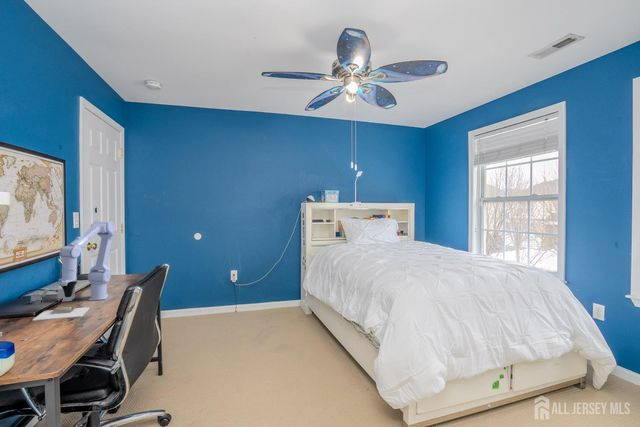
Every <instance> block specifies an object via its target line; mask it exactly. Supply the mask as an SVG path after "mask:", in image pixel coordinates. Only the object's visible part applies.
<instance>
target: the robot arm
mask: <svg viewBox="0 0 640 427" xmlns="http://www.w3.org/2000/svg"><path fill="white" fill-rule="evenodd" d="M115 230H116V225H115V223H114V222H113V221H103V220H102V221H99V220H95V221H93V222H92V223H91V224H90V228H89V229H88V230H87V231H86V232H85V233H84V234H83V235H82V236H81V235H80V236H76V238H75V239H74V240H72V242H70V243H69V244H68V245H65V246H63V247H61V249H60V251H59V252H58V254H59V256H60V260H61V262H62V264H61V278H58V282H61V283H60V287H62V288H63V291H64V294H65V297H71V296H72V293H73V289H74V287H75V288H76V285H77V283H78V282H77V279H78V278H77V271H78V270H77V269H78V268H77V267H78V257H79V256H81V252H82V250H83V249H84V248H85V247H86V246H87V245H88V244H89V240H91V239H93V238H94V236H96V235H97V236H98V237H100V238H101V240H100V243H99V244H100V245H99V249H98V252H97V256H96V257H97V258H96V261H95V265H94V266H92V267H91V268H90V269H89V273H88V274H87V281H88V282H89V284H90V297H89V299H88V301H98V300H99V301H100V300H101V301H102V300H106V299H107V298H108V297H109V294H108V283H109V281H110V280H111V277H112V273H111V271H112V269H111V268H110V267H108V262H109V257H110V253H111V252H110V251H111V247H112V244H113V243H112V242H113V238H114V237H115V236H114V235H115V233H116V231H115Z"/></svg>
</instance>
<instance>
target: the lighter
mask: <svg viewBox="0 0 640 427" xmlns="http://www.w3.org/2000/svg"><path fill="white" fill-rule="evenodd" d="M49 291H50V288H47V287H46V288H45V289H44V290H43V293H42V294H40V293H34V294H32V295H31V296H30V302H31V301H36V300H42V301H43V297H45V296H46V295H47V294H48V292H49Z"/></svg>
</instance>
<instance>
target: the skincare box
mask: <svg viewBox="0 0 640 427" xmlns="http://www.w3.org/2000/svg"><path fill="white" fill-rule="evenodd" d="M75 295H76V286H75V287H74V289H73V293H72V296H71V297H65V294H64V291H63V288H62V287H61V286H60V287H58V288H57V299H58V298H63V300H62V302H71V301H73V300H74V299H75V298H76V296H75Z"/></svg>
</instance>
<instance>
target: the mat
mask: <svg viewBox="0 0 640 427" xmlns="http://www.w3.org/2000/svg"><path fill="white" fill-rule="evenodd" d="M88 310H90V307H88V306H87V307H86V306H85V307H77V308H75V309H74V310H73V311H72V312H71V313H59V314H55V309H47V310H44V311H42V312H41V313H39V314H38V315H37V316H36V317H34V318H33V319H31V320H32V321H31V322H37V321H50V320H59V319H60V320H61V319H71V318H72V319H73V318H81V317H83V316H84V315H85V314H86V313H87V312H88Z"/></svg>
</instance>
